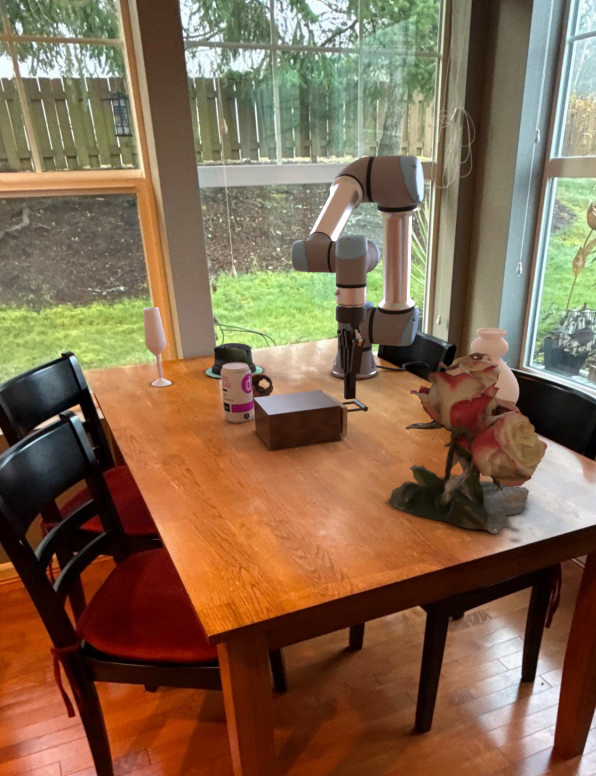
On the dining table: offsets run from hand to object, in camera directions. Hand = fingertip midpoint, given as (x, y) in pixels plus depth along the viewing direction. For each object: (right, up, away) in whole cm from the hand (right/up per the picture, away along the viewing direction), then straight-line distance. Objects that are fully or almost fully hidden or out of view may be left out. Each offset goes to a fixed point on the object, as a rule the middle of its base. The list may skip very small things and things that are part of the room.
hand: (349, 398), depth 166 cm
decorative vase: (+36, -6, +5) cm, 37 cm away
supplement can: (-31, -3, +12) cm, 33 cm away
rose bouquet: (+24, -29, -34) cm, 50 cm away
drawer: (-8, -8, +1) cm, 11 cm away
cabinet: (-14, -10, 0) cm, 17 cm away
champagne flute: (-61, +14, +44) cm, 76 cm away
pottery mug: (-28, +6, +29) cm, 41 cm away
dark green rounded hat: (-38, +21, +55) cm, 70 cm away
